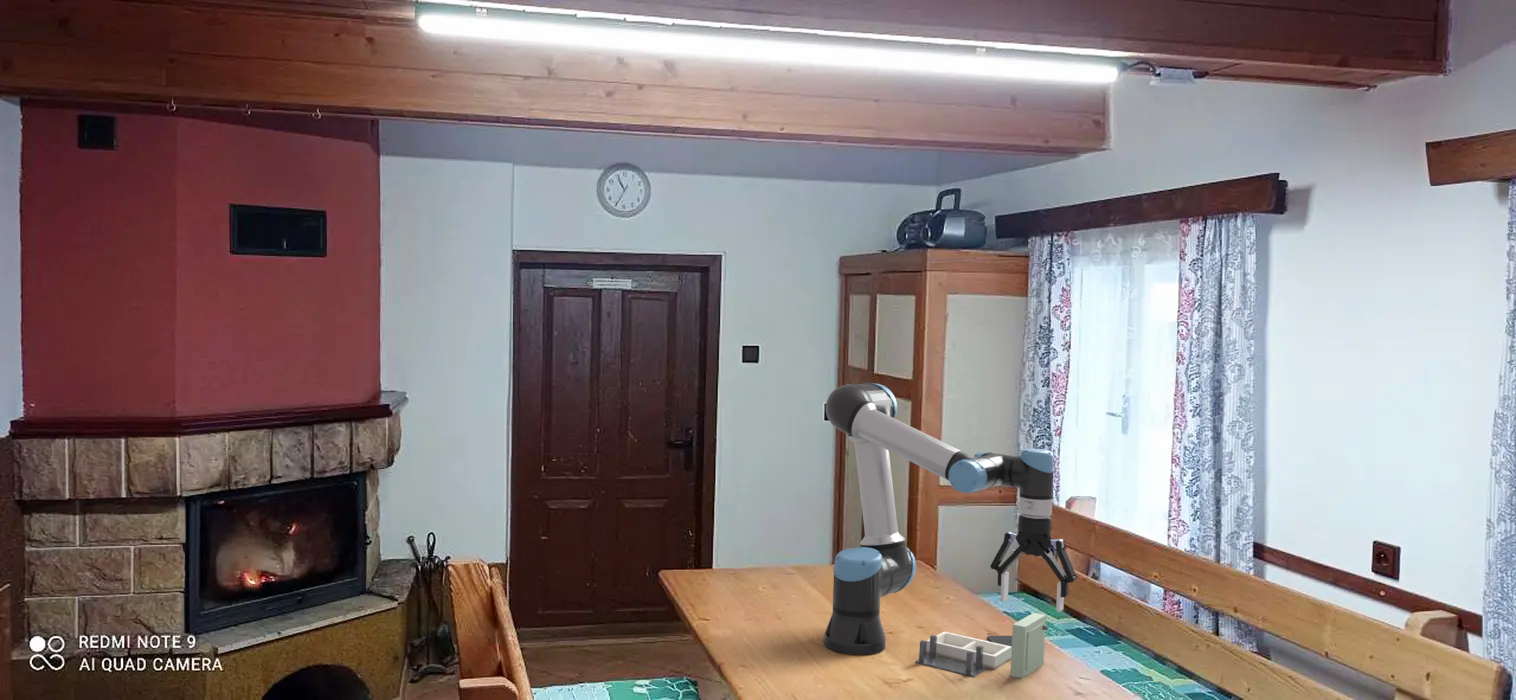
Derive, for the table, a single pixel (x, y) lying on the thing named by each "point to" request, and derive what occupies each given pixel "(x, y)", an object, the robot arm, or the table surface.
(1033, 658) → the door panel
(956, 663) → the grey four-post stand
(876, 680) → the table surface
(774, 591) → the table surface
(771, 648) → the table surface
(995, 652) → the white divided tray
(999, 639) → the smartphone
